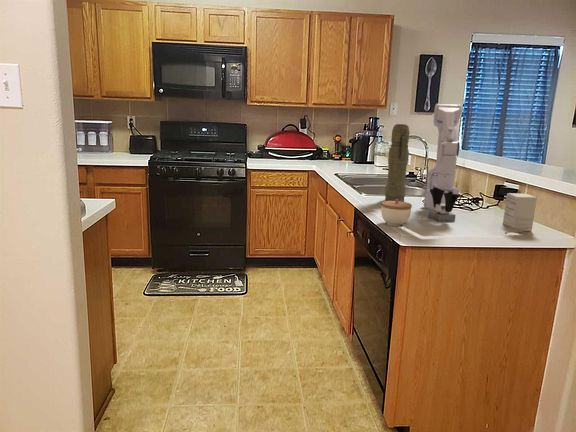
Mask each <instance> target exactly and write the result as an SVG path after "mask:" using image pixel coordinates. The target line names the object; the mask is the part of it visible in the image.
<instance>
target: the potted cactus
mask: <svg viewBox="0 0 576 432" xmlns="http://www.w3.org/2000/svg"><path fill="white" fill-rule="evenodd" d="M391 132H392V133H391V140H390V142H391V144H390V147H389V151H388V158H387V159H388V160H387V164H388V168H387V169H388V171H387V183H386V185H385V191H384V192H385V193H384V195H385V197H384V198H385V199H384V201H395V200H396V199H398V201H401V202H405V197H406V188H407V187H406V177H407V176H406V175H407V174H406V173H407V166H408V164H409V155H410V152H409V151H410V150H409V142H410V139H409V138H410V126H409V125H408V124H403V123H396V124H395V125H394V126H393V128H392V131H391Z"/></svg>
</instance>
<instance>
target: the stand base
mask: <svg viewBox="0 0 576 432" xmlns="http://www.w3.org/2000/svg"><path fill="white" fill-rule="evenodd" d="M427 217H428V218H429V219H431V220H433V221H436V222H439V223H440V222H443V223H444V222H455V221H456V214H455V213H452V212H449V214H438V212H435V210H428V216H427Z"/></svg>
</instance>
